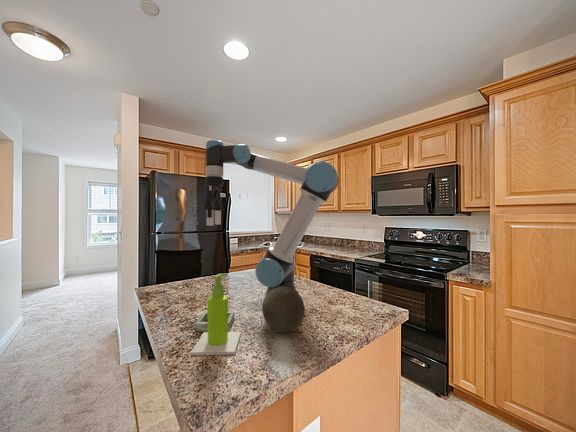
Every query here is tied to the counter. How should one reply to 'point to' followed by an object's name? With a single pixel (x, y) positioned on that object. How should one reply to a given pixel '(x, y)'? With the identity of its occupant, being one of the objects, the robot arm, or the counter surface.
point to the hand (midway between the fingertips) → (214, 225)
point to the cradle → (203, 325)
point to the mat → (224, 349)
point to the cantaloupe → (283, 309)
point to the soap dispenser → (218, 314)
